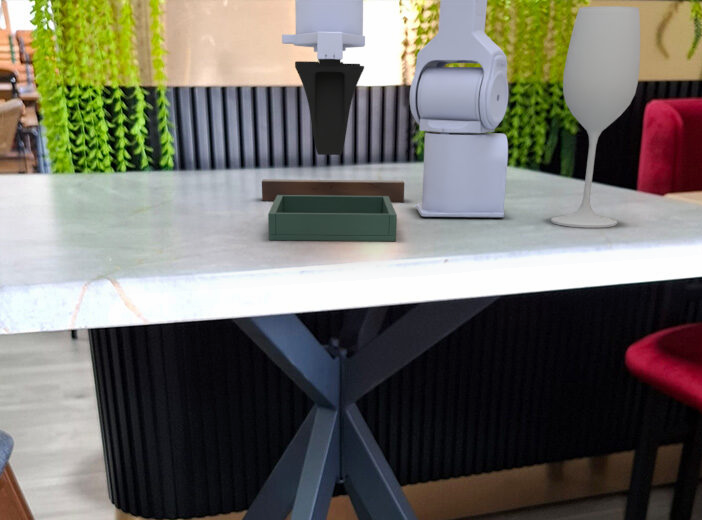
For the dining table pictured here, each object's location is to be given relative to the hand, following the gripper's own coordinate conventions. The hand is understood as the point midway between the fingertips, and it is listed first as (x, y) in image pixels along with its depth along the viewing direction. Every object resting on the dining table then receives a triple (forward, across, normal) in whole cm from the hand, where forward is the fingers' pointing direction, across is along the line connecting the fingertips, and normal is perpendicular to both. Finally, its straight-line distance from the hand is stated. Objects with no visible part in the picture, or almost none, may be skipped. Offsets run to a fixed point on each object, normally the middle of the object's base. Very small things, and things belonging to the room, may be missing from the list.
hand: (329, 151), depth 80 cm
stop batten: (+8, -34, +1) cm, 35 cm away
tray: (+8, -11, 0) cm, 14 cm away
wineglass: (+8, -17, +28) cm, 34 cm away
